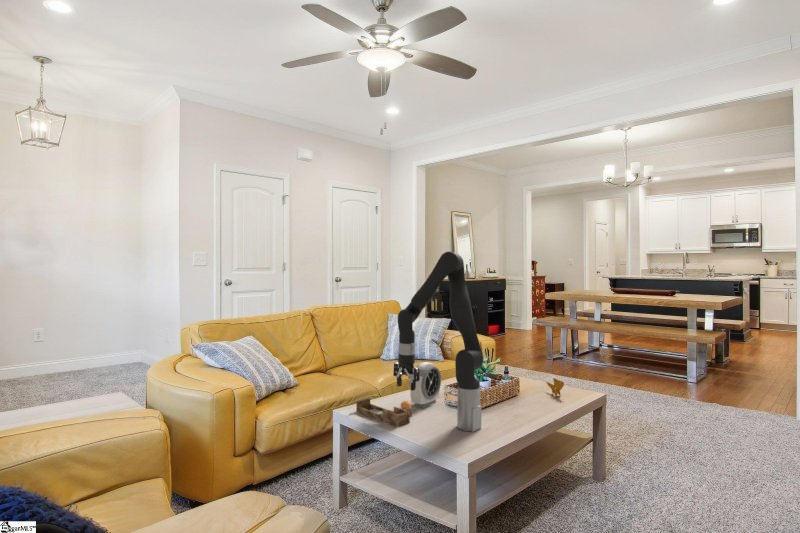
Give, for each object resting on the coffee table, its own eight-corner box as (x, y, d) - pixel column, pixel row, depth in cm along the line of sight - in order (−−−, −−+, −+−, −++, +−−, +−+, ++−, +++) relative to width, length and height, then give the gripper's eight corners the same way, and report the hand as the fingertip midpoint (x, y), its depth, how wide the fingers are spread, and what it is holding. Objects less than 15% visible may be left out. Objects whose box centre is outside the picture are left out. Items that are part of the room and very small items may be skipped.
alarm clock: (422, 410, 209) (422, 367, 209) (407, 406, 214) (407, 364, 214) (442, 401, 223) (442, 360, 223) (428, 397, 228) (428, 358, 228)
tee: (412, 415, 202) (412, 409, 202) (405, 418, 199) (405, 411, 199) (405, 413, 204) (405, 407, 204) (399, 415, 202) (399, 409, 202)
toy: (564, 394, 225) (559, 374, 229) (547, 399, 239) (543, 380, 243) (568, 394, 226) (563, 374, 230) (552, 399, 240) (547, 380, 244)
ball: (412, 410, 202) (412, 400, 202) (405, 412, 198) (406, 403, 198) (405, 408, 205) (405, 398, 205) (398, 410, 202) (399, 400, 202)
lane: (409, 423, 193) (409, 411, 192) (397, 427, 187) (397, 415, 187) (368, 408, 212) (368, 397, 212) (356, 411, 206) (356, 401, 206)
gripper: (423, 354, 199) (423, 390, 199) (401, 348, 209) (400, 383, 209) (412, 356, 194) (411, 393, 194) (389, 351, 204) (389, 386, 204)
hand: (406, 388), depth 202 cm, fingers open, 8 cm apart
